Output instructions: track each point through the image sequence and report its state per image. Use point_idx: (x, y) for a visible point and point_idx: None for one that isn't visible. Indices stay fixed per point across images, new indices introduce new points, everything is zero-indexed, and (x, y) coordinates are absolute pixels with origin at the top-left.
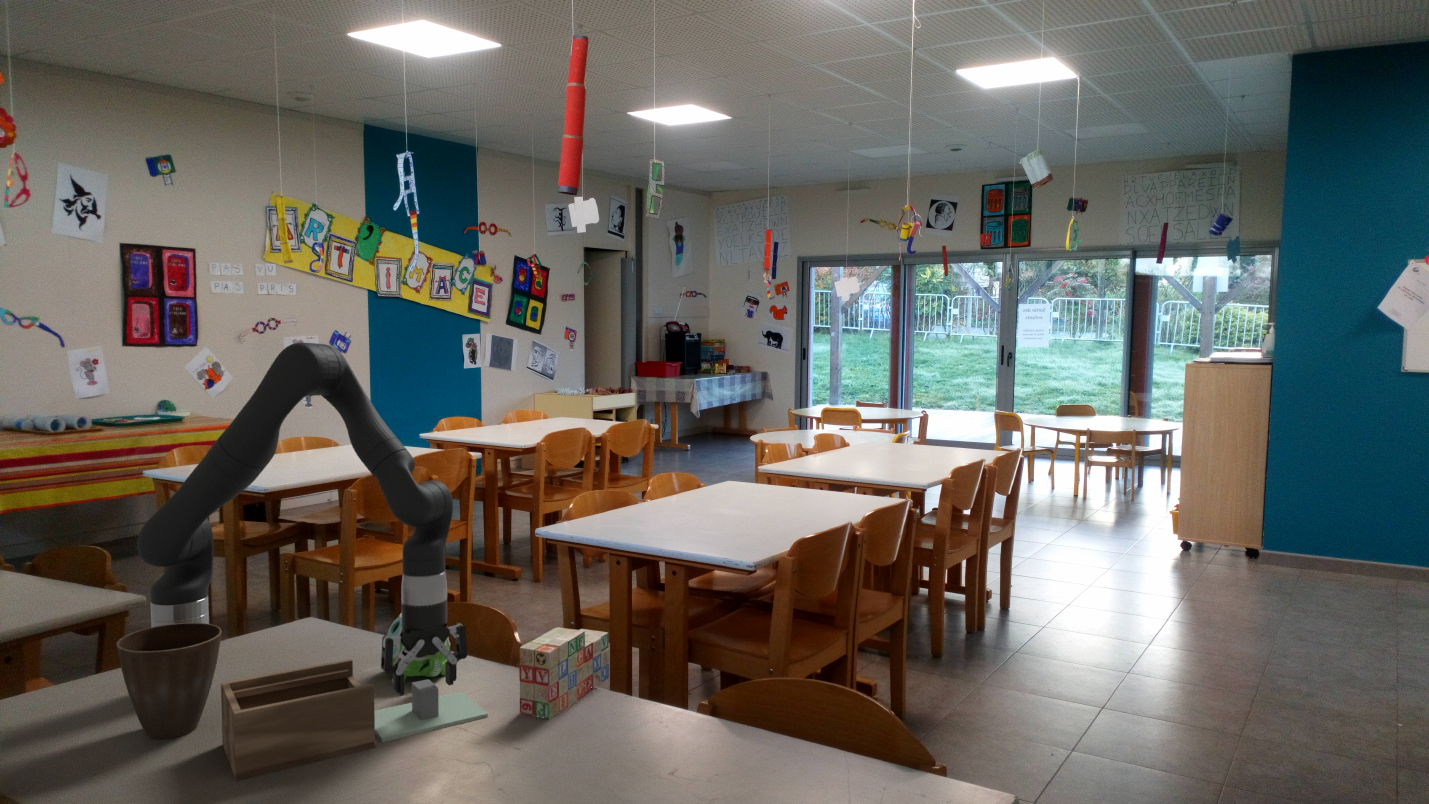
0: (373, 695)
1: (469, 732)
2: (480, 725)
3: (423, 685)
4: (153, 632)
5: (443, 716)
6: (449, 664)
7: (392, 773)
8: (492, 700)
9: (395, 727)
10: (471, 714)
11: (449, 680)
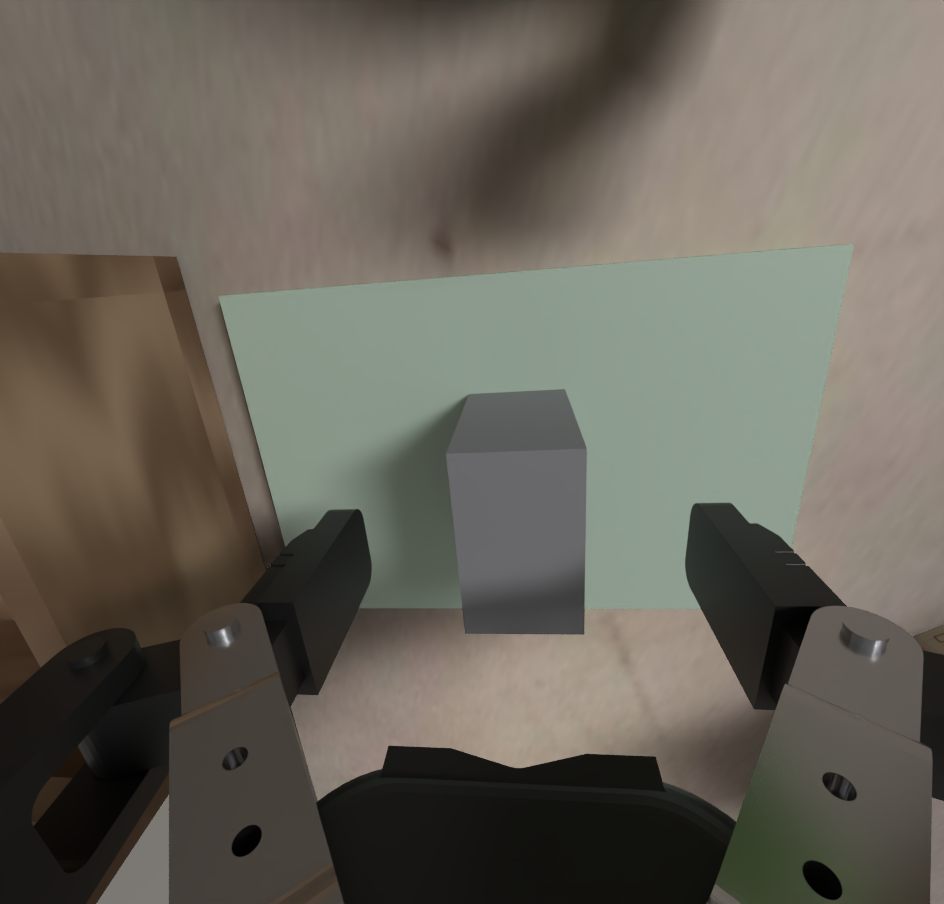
0: (119, 862)
1: (627, 683)
2: (694, 654)
3: (509, 546)
4: None
5: (586, 538)
6: (769, 686)
7: (324, 784)
8: (918, 433)
9: None
10: None
11: (697, 600)
